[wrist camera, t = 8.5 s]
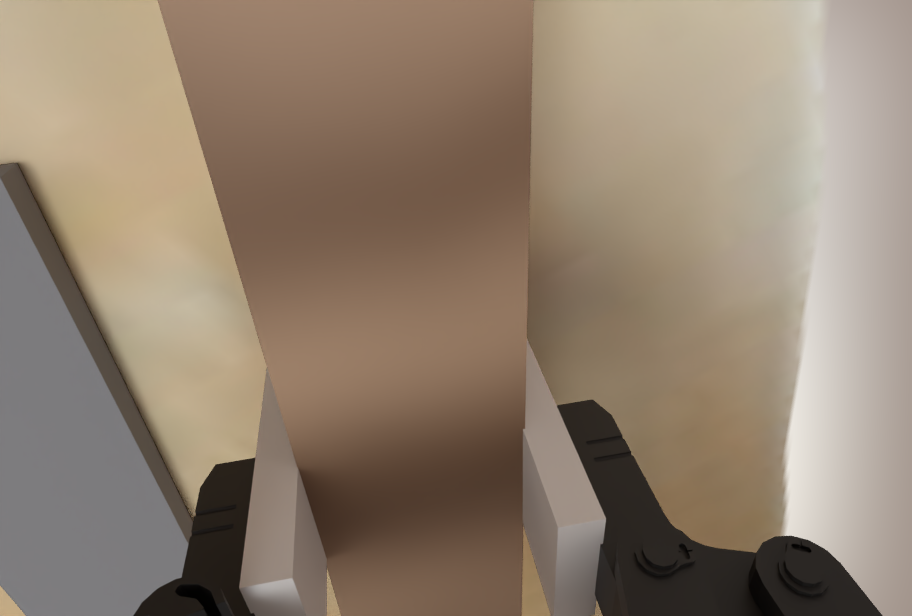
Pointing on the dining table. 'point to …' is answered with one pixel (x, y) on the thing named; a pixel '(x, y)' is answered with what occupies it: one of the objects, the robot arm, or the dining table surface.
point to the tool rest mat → (72, 443)
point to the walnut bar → (383, 271)
